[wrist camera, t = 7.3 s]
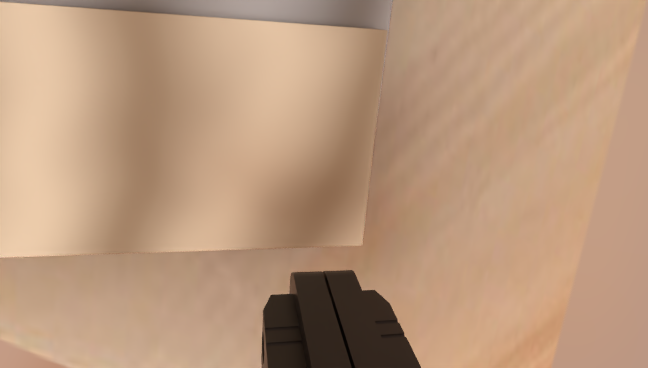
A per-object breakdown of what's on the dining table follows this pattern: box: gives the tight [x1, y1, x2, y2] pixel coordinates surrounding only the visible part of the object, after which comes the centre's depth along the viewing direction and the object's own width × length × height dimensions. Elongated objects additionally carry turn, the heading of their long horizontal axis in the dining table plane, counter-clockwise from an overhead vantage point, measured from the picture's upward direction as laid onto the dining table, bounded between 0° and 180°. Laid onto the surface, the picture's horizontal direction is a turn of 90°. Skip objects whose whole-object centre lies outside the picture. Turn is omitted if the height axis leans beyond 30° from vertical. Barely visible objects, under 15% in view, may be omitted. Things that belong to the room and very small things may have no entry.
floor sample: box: [0, 0, 393, 125], centre depth 14 cm, size 19×18×2 cm
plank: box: [0, 2, 387, 258], centre depth 15 cm, size 18×8×1 cm, turn 85°
